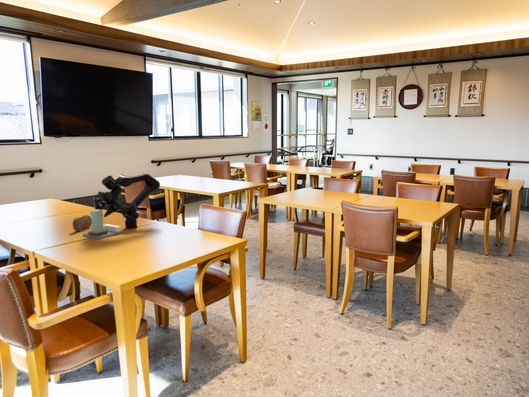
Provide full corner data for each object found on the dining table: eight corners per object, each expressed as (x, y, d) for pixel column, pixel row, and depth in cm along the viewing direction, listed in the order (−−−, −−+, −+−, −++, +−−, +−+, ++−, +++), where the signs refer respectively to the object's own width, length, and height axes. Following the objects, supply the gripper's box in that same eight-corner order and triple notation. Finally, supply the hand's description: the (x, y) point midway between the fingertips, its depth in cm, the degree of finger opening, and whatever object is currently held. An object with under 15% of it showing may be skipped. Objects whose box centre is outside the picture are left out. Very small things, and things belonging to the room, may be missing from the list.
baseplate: (108, 229, 247) (108, 223, 246) (124, 232, 240) (123, 226, 239) (82, 235, 232) (82, 229, 231) (98, 239, 225) (97, 232, 224)
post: (98, 232, 235) (97, 209, 233) (103, 233, 233) (102, 210, 231) (92, 234, 231) (90, 210, 229) (96, 235, 229) (95, 211, 227)
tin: (76, 232, 239) (75, 219, 237) (72, 232, 239) (71, 218, 238) (92, 227, 253) (91, 214, 252) (87, 226, 254) (87, 213, 252)
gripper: (95, 185, 238) (79, 206, 231) (116, 187, 229) (100, 209, 221) (107, 196, 246) (92, 216, 239) (127, 199, 237) (113, 220, 229)
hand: (99, 215), depth 232 cm, fingers open, 9 cm apart
